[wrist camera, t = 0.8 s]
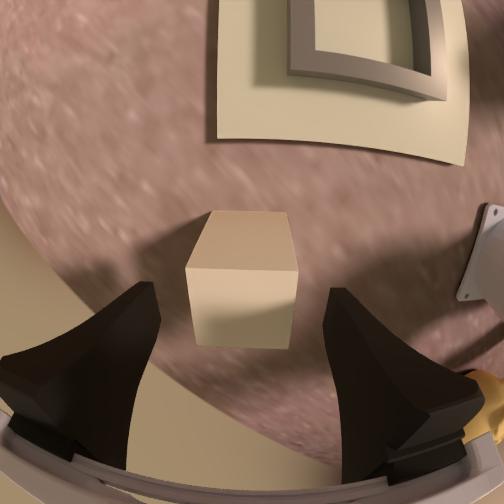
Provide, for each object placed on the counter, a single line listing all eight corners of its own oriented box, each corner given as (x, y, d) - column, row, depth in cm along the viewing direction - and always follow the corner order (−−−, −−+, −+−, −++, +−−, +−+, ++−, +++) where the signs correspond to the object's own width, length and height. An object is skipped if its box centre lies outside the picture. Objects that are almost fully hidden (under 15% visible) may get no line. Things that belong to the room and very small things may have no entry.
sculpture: (480, 390, 26) (504, 445, 16) (411, 423, 28) (429, 487, 18) (502, 342, 21) (540, 408, 11) (420, 384, 23) (450, 467, 13)
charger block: (285, 212, 15) (298, 271, 10) (281, 275, 17) (288, 349, 12) (212, 210, 15) (185, 267, 10) (215, 273, 17) (196, 345, 12)
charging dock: (447, -25, 6) (468, -35, 4) (456, 163, 13) (481, 174, 10) (226, -71, 7) (220, -93, 4) (219, 137, 13) (210, 142, 11)
